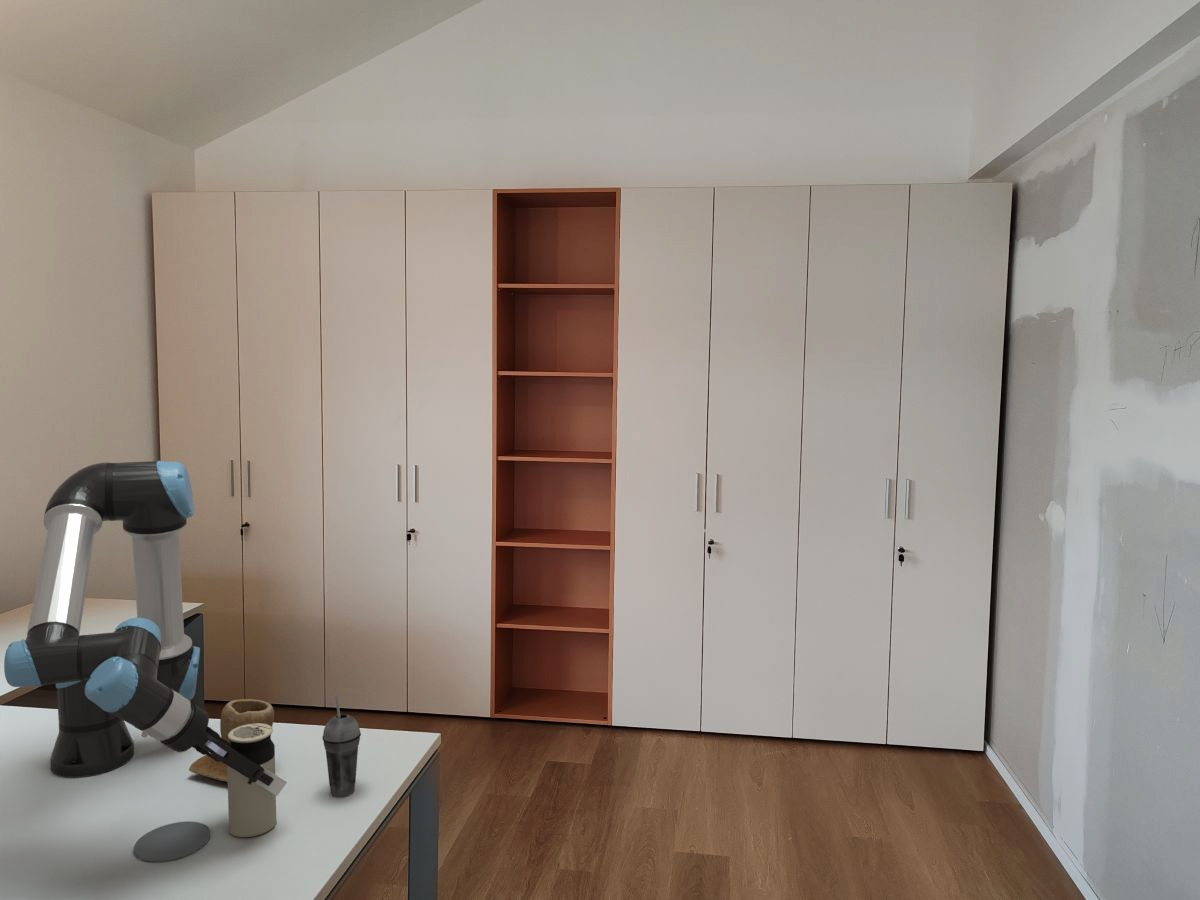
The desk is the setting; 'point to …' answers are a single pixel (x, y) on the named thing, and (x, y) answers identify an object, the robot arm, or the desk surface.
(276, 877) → the desk surface
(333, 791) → the beverage cup
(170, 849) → the mat
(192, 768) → the stone cup
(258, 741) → the travel mug
